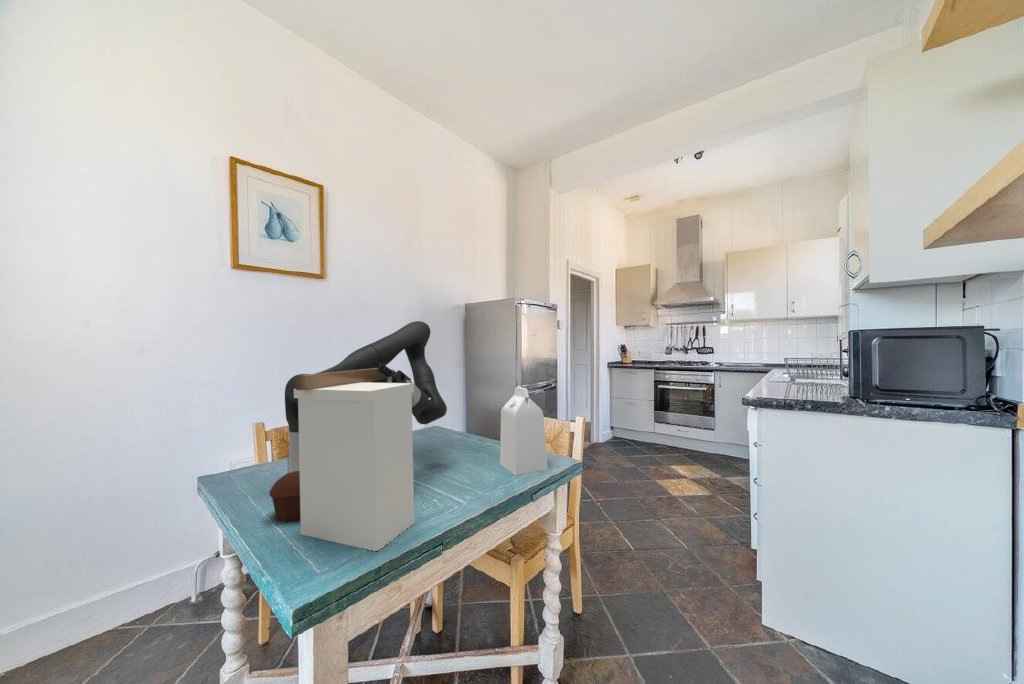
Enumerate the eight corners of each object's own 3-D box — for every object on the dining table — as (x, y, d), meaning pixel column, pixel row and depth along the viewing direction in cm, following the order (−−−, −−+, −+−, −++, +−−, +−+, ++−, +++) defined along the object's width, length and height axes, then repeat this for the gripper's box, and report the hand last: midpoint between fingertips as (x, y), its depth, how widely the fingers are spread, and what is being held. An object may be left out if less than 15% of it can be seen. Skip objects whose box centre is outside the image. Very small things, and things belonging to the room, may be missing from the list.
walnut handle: (295, 389, 76) (295, 375, 76) (376, 378, 98) (376, 367, 98) (306, 390, 75) (305, 375, 75) (385, 379, 97) (385, 367, 97)
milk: (547, 468, 117) (545, 388, 117) (515, 475, 112) (513, 391, 112) (529, 458, 128) (527, 385, 128) (499, 464, 123) (498, 387, 123)
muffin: (261, 517, 88) (260, 475, 88) (307, 500, 97) (307, 462, 97) (284, 530, 81) (283, 485, 81) (332, 510, 90) (331, 470, 91)
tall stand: (296, 536, 78) (293, 388, 78) (347, 508, 91) (344, 382, 91) (373, 554, 71) (370, 391, 71) (417, 521, 84) (413, 383, 84)
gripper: (386, 379, 111) (350, 354, 97) (426, 380, 105) (393, 353, 92) (378, 402, 107) (339, 380, 94) (419, 404, 102) (383, 380, 89)
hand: (366, 367), depth 93 cm, fingers open, 8 cm apart
